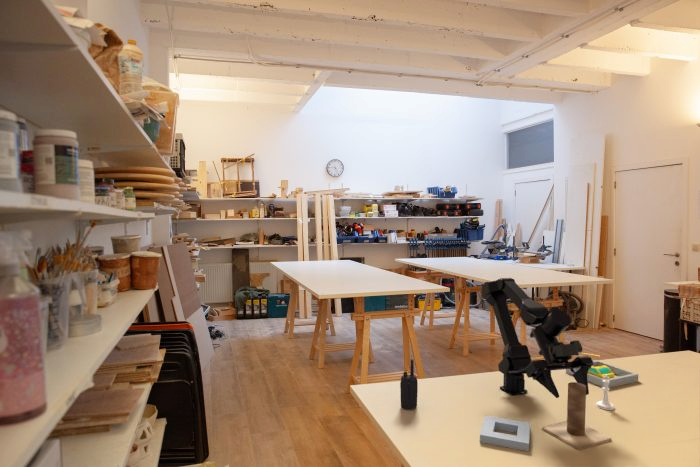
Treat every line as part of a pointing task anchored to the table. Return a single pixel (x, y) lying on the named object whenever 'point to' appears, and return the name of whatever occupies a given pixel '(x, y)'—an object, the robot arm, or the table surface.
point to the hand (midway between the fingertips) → (572, 395)
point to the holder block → (505, 439)
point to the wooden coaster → (578, 442)
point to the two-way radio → (409, 389)
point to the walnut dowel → (576, 409)
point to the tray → (623, 378)
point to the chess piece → (605, 396)
